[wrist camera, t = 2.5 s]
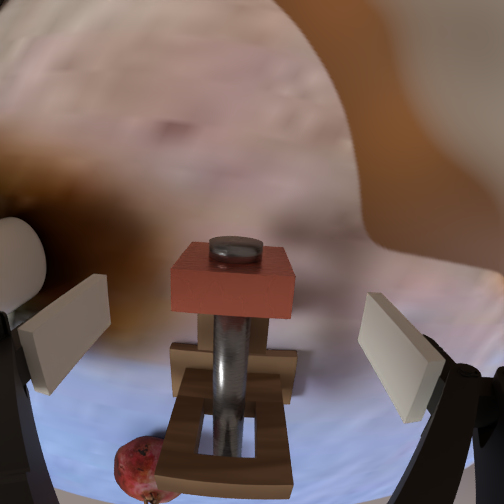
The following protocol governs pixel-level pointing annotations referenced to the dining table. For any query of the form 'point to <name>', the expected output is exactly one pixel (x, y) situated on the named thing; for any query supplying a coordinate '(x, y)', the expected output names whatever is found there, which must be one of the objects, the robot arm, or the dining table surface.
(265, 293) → the hook rod
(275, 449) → the wooden square frame
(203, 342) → the saddle block
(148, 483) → the fruit
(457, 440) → the robot arm
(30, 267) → the mug
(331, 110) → the dining table surface
